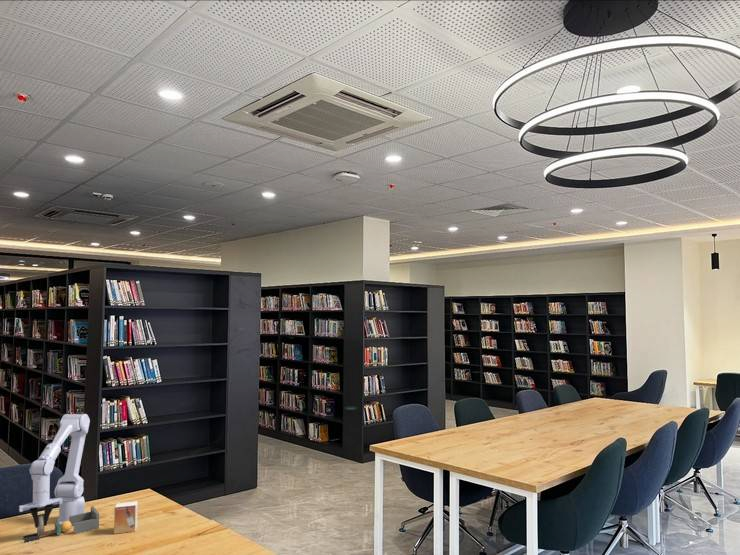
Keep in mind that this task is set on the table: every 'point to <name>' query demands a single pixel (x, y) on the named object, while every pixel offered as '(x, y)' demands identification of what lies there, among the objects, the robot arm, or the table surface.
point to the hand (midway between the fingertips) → (40, 525)
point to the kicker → (41, 527)
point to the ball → (66, 526)
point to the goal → (85, 521)
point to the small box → (125, 517)
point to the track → (31, 537)
